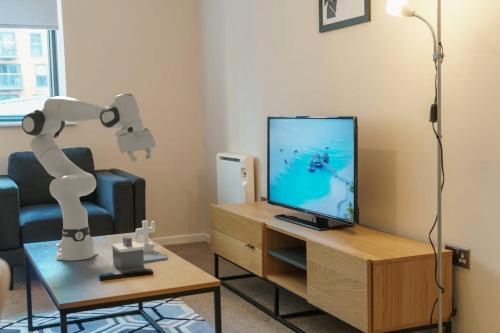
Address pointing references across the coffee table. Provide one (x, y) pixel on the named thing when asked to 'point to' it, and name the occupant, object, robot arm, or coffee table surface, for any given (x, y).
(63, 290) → the coffee table surface
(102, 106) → the robot arm
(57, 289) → the coffee table surface
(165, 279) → the coffee table surface
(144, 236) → the figurine
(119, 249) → the lid
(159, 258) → the slate mat
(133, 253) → the tin box
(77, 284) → the coffee table surface
